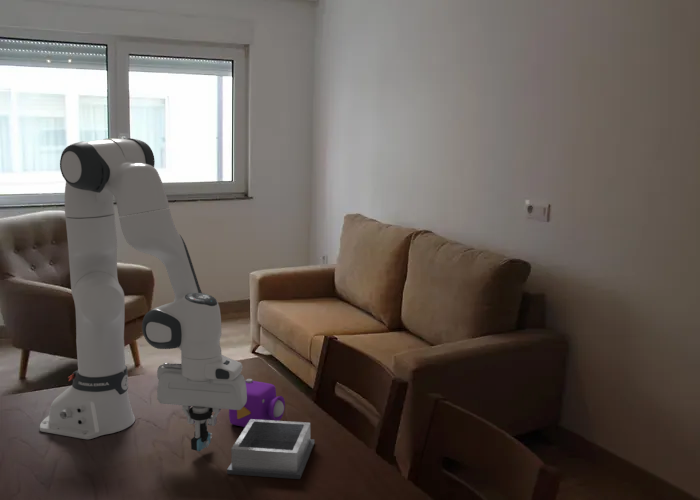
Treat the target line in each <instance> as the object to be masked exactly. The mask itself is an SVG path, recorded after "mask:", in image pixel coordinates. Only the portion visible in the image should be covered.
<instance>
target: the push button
mask: <svg viewBox="0 0 700 500" xmlns="http://www.w3.org/2000/svg"><path fill="white" fill-rule="evenodd" d="M213 413H214V412H213V408H209V407H196V406H191V407H190V409H189V414H190V418H191V419H194V421H195V424H194V430H195V431H193V432H194V436H193V437H192V438H191V439H190V449H191V450H192V451H196V452H201V451H203V449H204V448H208V447H209V444H211V439H212V438H213V436H212V435H213V433H212V432H209V431H208V430H209V429H208V419H209V418H210V417H211V416H213Z"/></svg>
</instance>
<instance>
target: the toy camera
mask: <svg viewBox="0 0 700 500" xmlns="http://www.w3.org/2000/svg"><path fill="white" fill-rule="evenodd" d="M245 382H246V390H247V402H246V404H245V405H244V407H243V408H242V409H240V410H233V409H228V419H229V423H230V424H231V425H233V426H238V427H243V428H245V427H246V425H247V424H248V422H249V421H250V419H257V420H274V421H281V420H282V418H283V416H284V412H285V409H286V408H285V407H286V402H285V398H284V397H283V395H279V396H278V395H277V391H276V389H277V388H276V386H275V385H274V384H272V383H268V382H263V381H257V380H253V379H252V378H247V379H245Z"/></svg>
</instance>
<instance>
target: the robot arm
mask: <svg viewBox="0 0 700 500" xmlns="http://www.w3.org/2000/svg"><path fill="white" fill-rule="evenodd" d="M155 165H156V164H155V155H154V153H153V149H152V148H151V147H150V146H149V144H148V143H147V142H144V141H143V140H141V139H137V138H130V137H128V138H115V137H113V138H103V139H96V140H91V141H79V142H75V143H71V144H70V145H68V146H66V147H65V148H64V149H63V150H62V152H61V156H60V160H59V169H60V173H61V175H62V177H63V179H64V180H65V187H64V216H65V226H66V236H67V247H68V248H67V249H68V262H69V264H68V265H69V266H68V267H69V275H70V276H69V277H70V288H71V289H70V290H71V295H72V299H73V301H74V308H75V328H76V329H75V333H76V334H75V336H76V339H75V343H76V355H77V357H76V358H77V370H75V371H73V372H72V374H71V375H70V376H68V377H67V379H68V382H71V381H72V384H71V385H70V386H69V387H68V388H66V389H65V390H64V391H63V392H61V393H60V394H59V395H58V396H57V397H55V398H54V399H53V401H52V402H51V405H50V408H49V413H48V415H47V416H46V417H45V418H44V419H43V420H41V422H40V425H39V431H40V432H43V433H49V434H54V435H59V436H66V437H70V438H71V437H72V438H75V439H81V440H82V439H83V440H91V439H94V438H95V439H96V438H98V437H100V436H104V435H109V434H114V433H117V432H120V431H124V430H126V429H128V428H129V427H131V426H132V425H133V424H134V422H135V421H136V417H135V415H134V412H133V409H132V405H131V401H130V396H129V390H128V389H129V373H128V366H127V365H126V355H125V354H126V353H125V316H126V315H125V312H126V311H125V310H126V309H125V307H126V306H125V305H126V304H125V303H126V302H125V292H124V289H123V288H122V286H121V284H120V283H119V279H118V277H119V276H118V239H117V238H118V237H117V226H116V224H117V223H116V214H115V204H114V199H115V202H116V209H117V213H118V217H119V223H120V228H121V232H122V234H123V236H124V239H125V241H126V242H127V244H128V245H130V247H132V248H133V249H134V250H136V251H137V252H140V253H142V254H147V255H150V256H152V257H155V258H156V259H158V260H159V261H161V263H162V264H163V265H164V268H165V270H166V272H167V273H166V274H167V276H168V279H169V282H170V285H171V289H172V290H173V294H174V299H173V301H171V302H169V303H165V304H162V305H160V306H157V307H154V308H152V309H150V310H149V311H147V312H146V313H145V315H144V316H143V319H142V323H141V331H142V334H143V337H144V339H145V341H146V342H147V343H148V344H149V345H150V346H151V347H153V348H154V349H158V350H171V349H180V354H181V355H180V357H181V358H180V362H181V363H170V362H164V363H163V364H161V365H159V366H158V367H157V372H156V373H157V376H156V377H157V379H158V383H157V389H156V400H157V401H158V402H159V404H161V405H172V406H173V405H174V406H182V407H181V408H182V409H181V410H182V411H183V413H184V414H185V417H187V423H186V424H193V425H195V421H194V419H191V418H190V414H189V409H190V408H191V407H193V406H196V407H209V408H213V412H212V413H213V414H212V416H211V417H210V418H209V419H207V426H212V427H213V426H216V424H217V420H218V419H217V417H218V415H219V413H220V412H221V410H222V409H223V410H229V409H233V410H240V409H242V408H243V407H244V405H245V404H246V402H247V390H246V382H245V381H246V379H245V377H244V375H243V374H242V373H241V372H242V371H243V363H242V362H240V361H237V360H235V359H232V358H231V357H227V356H225V355H223V353H222V348H221V343H220V342H221V337H222V316H221V315H222V314H221V308H220V304H219V302H218V300H217V298H216V297H214V296H212V295H210V294H207V293H205V292H203V291H202V290H201V287H200V284H199V281H198V278H197V274H196V272H195V268H194V265H193V262H192V259H191V256H190V252H189V250H188V247H187V245H186V242H185V240H184V238H183V237H182V235H181V234H180V233H179V232H178V230H177V228H176V225H175V223H174V221H173V217H172V213H171V210H170V209H171V208H170V204H169V200H168V196H167V193H166V190H165V187H164V183H163V181H162V179H161V177H160V174H159V172H158V169H156V168H155Z"/></svg>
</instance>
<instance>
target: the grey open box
mask: <svg viewBox="0 0 700 500" xmlns="http://www.w3.org/2000/svg"><path fill="white" fill-rule="evenodd" d="M314 445H315V439H314V438H313V439H311V422H307V421H306V422H304V421H289V420H287V421H286V420H284V421H283V420H279V421H274V420H273V419H272V420H257V419H250V421H249V422H248V424H247V425H246V427H243V430H242V431H241V433H240V435H239V436H238V438H237V439H236V441H235V442H234V444H233V445H232V447H230V449H231V451H230V452H231V463H230V465H229V466H228V468H227V469H226V474H227V475H236V476H237V475H238V476H250V477H251V476H252V477H262V478H263V477H265V478H277V479H278V478H279V479H289V480H290V479H291V480H301V477H302V475H303V473H304V470H305V469H306V465H307V463H308V461H309V458H310V455H311V452H312V450H313V448H314Z"/></svg>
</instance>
